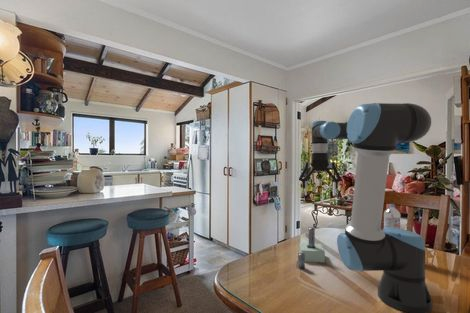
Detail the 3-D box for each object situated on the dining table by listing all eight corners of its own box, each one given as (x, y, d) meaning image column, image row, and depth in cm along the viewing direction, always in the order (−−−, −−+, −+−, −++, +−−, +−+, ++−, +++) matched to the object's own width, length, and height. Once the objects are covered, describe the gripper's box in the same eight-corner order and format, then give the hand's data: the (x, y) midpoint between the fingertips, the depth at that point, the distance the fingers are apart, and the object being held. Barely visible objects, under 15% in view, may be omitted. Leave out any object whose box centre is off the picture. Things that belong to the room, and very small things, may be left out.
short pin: (305, 269, 107) (305, 255, 107) (298, 269, 107) (298, 255, 107) (304, 266, 110) (304, 252, 109) (297, 266, 110) (297, 252, 110)
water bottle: (395, 254, 123) (395, 203, 123) (403, 260, 116) (403, 205, 116) (381, 253, 123) (380, 203, 123) (388, 259, 116) (388, 205, 116)
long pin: (315, 258, 118) (315, 229, 118) (309, 258, 118) (308, 228, 118) (314, 256, 120) (314, 227, 120) (308, 256, 121) (308, 227, 121)
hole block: (324, 262, 114) (324, 251, 114) (302, 261, 115) (301, 250, 115) (320, 253, 123) (320, 243, 123) (299, 252, 125) (299, 242, 125)
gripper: (344, 152, 126) (344, 194, 126) (293, 152, 130) (293, 193, 130) (348, 152, 119) (348, 197, 119) (294, 152, 122) (294, 196, 123)
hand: (319, 195), depth 124 cm, fingers open, 13 cm apart
